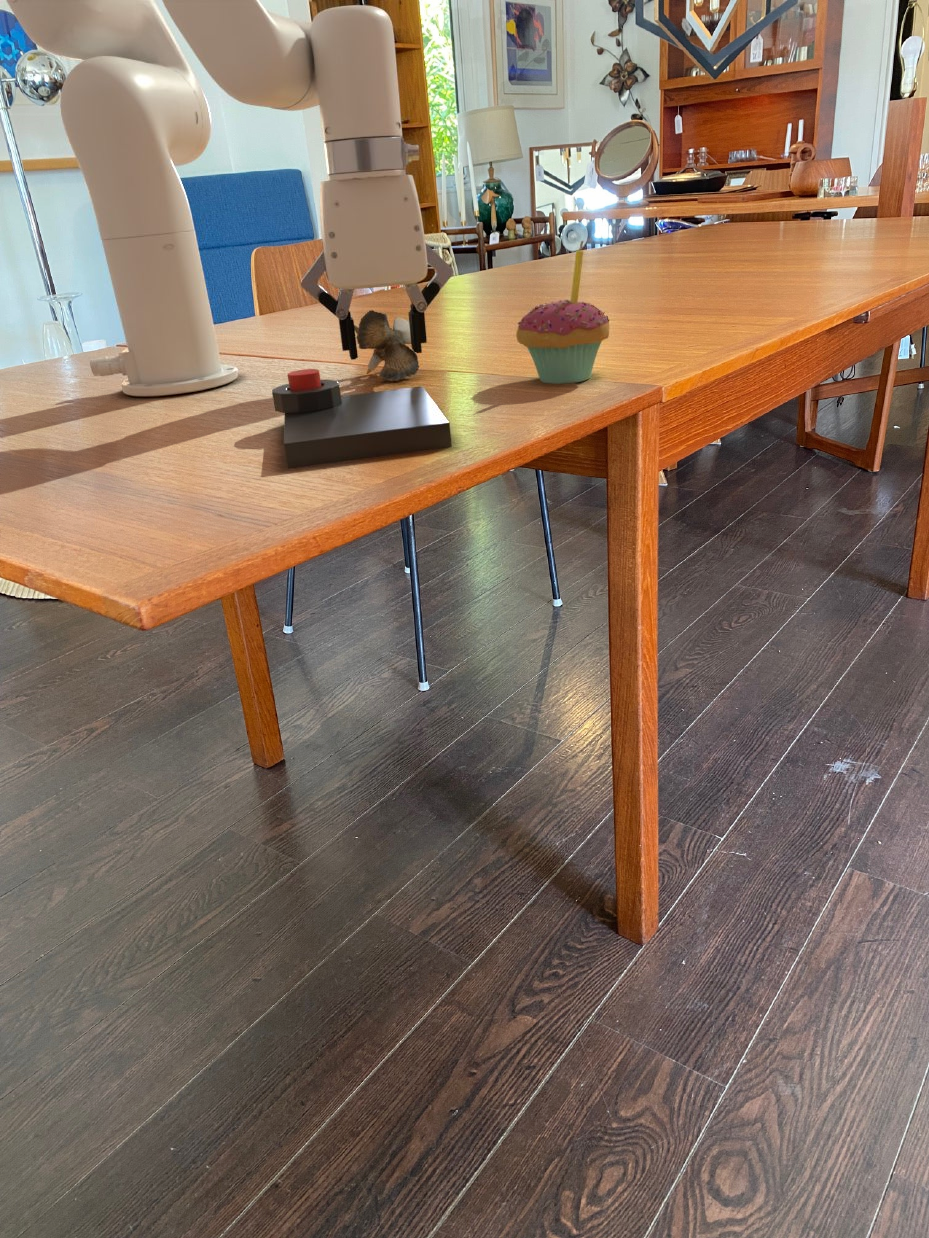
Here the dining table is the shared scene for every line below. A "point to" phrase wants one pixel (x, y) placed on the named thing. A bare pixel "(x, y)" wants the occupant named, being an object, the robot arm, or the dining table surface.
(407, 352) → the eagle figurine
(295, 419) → the dark grey flat block
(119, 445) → the dining table surface
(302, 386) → the button
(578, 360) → the cupcake
